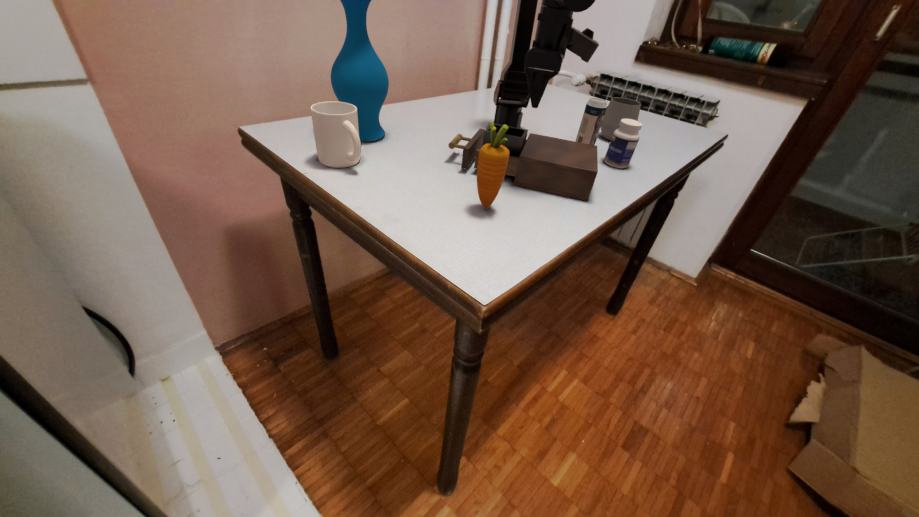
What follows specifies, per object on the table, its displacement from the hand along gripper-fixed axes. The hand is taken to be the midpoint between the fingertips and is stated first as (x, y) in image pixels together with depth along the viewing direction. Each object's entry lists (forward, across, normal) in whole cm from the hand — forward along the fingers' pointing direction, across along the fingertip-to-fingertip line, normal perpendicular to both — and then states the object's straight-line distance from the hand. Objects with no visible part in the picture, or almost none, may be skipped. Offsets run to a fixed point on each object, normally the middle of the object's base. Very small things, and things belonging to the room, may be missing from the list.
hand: (537, 102), depth 73 cm
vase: (+14, -1, +38) cm, 41 cm away
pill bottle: (+14, +12, -21) cm, 28 cm away
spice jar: (+14, +18, -13) cm, 26 cm away
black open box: (+12, -3, +5) cm, 13 cm away
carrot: (+14, -22, +4) cm, 27 cm away
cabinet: (+14, -4, -7) cm, 16 cm away
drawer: (+13, -3, +7) cm, 15 cm away
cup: (+14, +32, -21) cm, 41 cm away
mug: (+14, -17, +34) cm, 40 cm away
